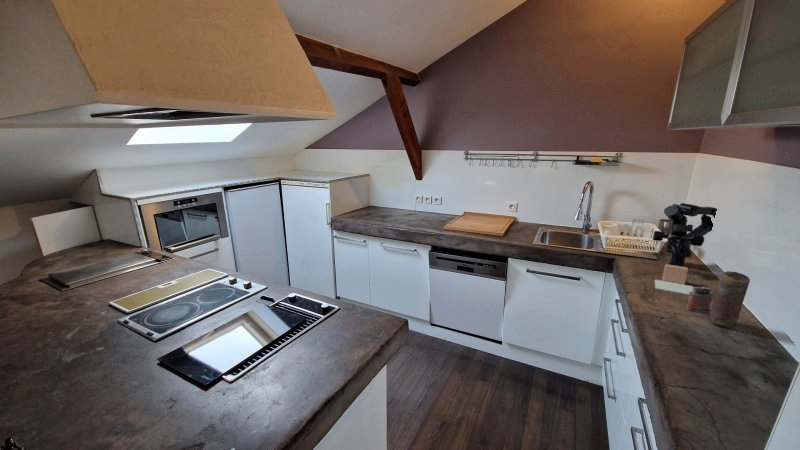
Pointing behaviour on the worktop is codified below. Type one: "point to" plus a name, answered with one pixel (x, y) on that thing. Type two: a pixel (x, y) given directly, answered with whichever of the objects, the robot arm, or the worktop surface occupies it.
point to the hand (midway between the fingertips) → (675, 253)
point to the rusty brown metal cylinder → (729, 299)
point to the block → (675, 274)
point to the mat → (673, 287)
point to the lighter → (699, 299)
